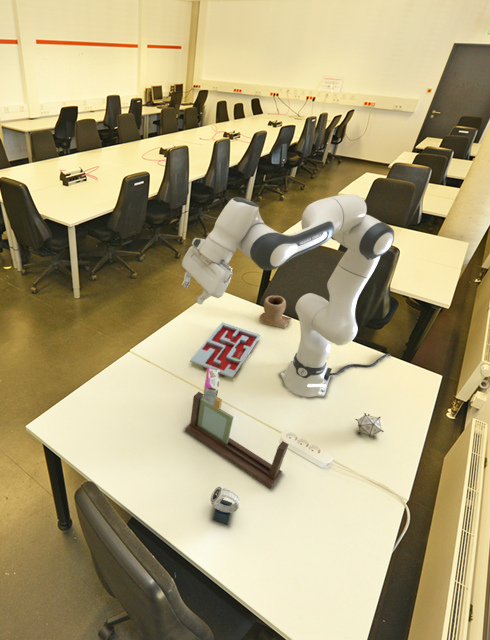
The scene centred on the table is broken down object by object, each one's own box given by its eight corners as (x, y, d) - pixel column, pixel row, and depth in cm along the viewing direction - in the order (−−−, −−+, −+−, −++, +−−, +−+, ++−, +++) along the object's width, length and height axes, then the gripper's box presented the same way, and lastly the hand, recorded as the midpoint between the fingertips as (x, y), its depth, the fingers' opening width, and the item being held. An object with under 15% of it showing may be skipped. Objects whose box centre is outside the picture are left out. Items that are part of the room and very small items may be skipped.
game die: (364, 436, 146) (387, 420, 142) (370, 448, 138) (394, 430, 134) (346, 420, 146) (368, 403, 143) (350, 430, 138) (373, 412, 135)
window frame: (196, 420, 145) (201, 387, 135) (280, 474, 128) (293, 441, 118) (185, 431, 141) (188, 398, 131) (270, 489, 123) (282, 455, 113)
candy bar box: (202, 398, 155) (207, 367, 145) (215, 400, 154) (220, 369, 144) (200, 419, 146) (204, 387, 136) (213, 421, 145) (219, 389, 136)
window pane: (198, 424, 141) (203, 388, 130) (228, 443, 134) (236, 407, 124) (196, 427, 140) (201, 391, 130) (225, 446, 134) (233, 410, 123)
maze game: (221, 327, 195) (222, 322, 193) (259, 340, 187) (260, 335, 185) (189, 365, 171) (190, 360, 169) (231, 382, 163) (232, 376, 161)
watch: (210, 501, 119) (215, 480, 113) (236, 510, 117) (242, 489, 111) (206, 517, 115) (210, 497, 109) (233, 527, 113) (239, 507, 107)
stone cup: (256, 325, 197) (261, 299, 188) (261, 314, 206) (267, 289, 197) (286, 333, 192) (293, 307, 183) (290, 321, 201) (298, 296, 192)
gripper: (243, 273, 103) (215, 315, 108) (207, 243, 118) (184, 282, 124) (226, 265, 100) (198, 310, 105) (191, 236, 115) (169, 276, 120)
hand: (191, 294), depth 114 cm, fingers open, 8 cm apart
